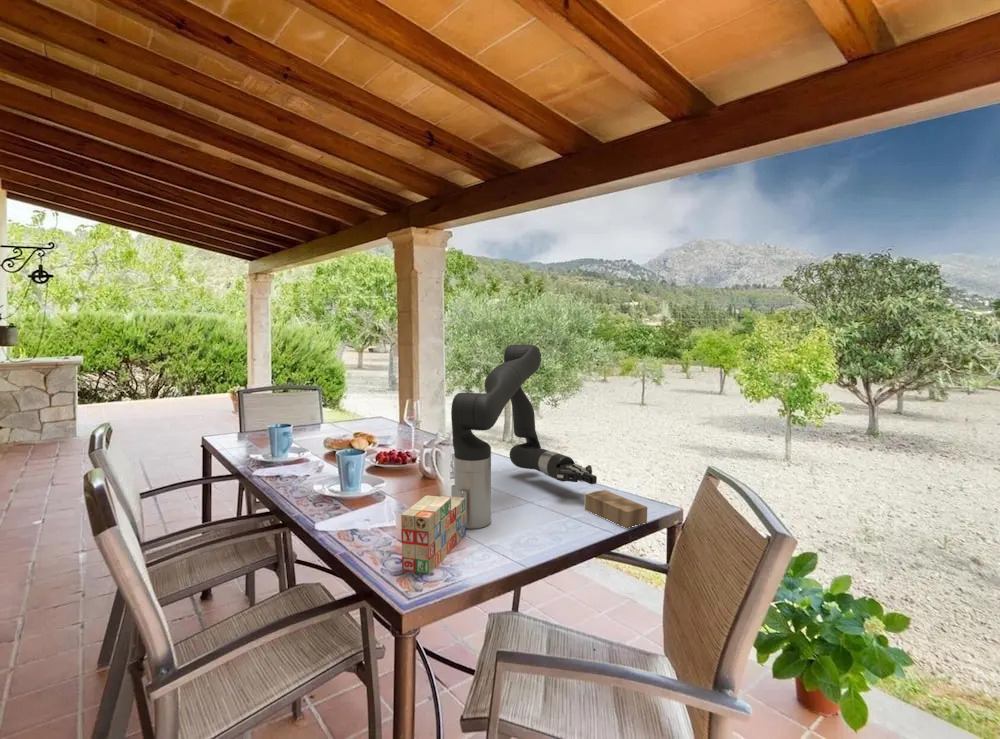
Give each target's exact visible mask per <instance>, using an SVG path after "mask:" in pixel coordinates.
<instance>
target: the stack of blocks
mask: <svg viewBox="0 0 1000 739" xmlns="http://www.w3.org/2000/svg"><path fill="white" fill-rule="evenodd" d="M400 518H401V524H400V525H401V530H400V533H401V534H400V536H401V537H400V538H401V539H400V540H401V570H402V571H406V572H412V573H418V574H424V575H425V574H426V575H430V574H431V573H432V572H433V571H434V569H436V568H437V567H438V566H439V564H441V563H442V562H443V560H444V559H445V558H447V555H448V554H449V553H450V552H451V551H452V550H453V549H454V548H455V546H456V545H458V544H459V543H460V542H461V541H462V540H463V538H464V537H465V536H466V534H467V528H466V510H465V498H462V497H451V496H448V495H441V496H436V495H425V496H424V497H422V498H421V499H420V500H418V501H417V502H416V503H415V504H413V505H412V506H411V507H409V508H407V509H406V510H405V511H404V512H402V513H401V515H400Z"/></svg>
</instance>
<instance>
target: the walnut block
mask: <svg viewBox="0 0 1000 739" xmlns="http://www.w3.org/2000/svg"><path fill="white" fill-rule="evenodd" d="M584 509H585V510H584V511H586V510H588V511H590V512H589V513H591V512H592V513H591V514H593V513H594V514H593V515H595V514H597V515H599V516H601V517H603V518H605V519H604V520H606V519H608V520H610V521H612V522H614V523H616V524H619V525H620V526H619V527H621V526H623V527H625V528H629V527H632V526H635V525H639V524H643V523H647V524H648V506H647V505H644V504H641V503H638V502H636V501H634V500H631V499H629V498H626V497H624V496H621V495H618V494H617V493H613V492H611V491H609V490H606V489H601V490H596V491H592V492H586V493H584ZM588 511H587V512H588ZM597 515H596V516H597ZM599 516H598V517H599ZM601 517H600V518H601ZM603 518H602V519H603ZM608 520H607V521H608ZM610 521H609V522H610ZM612 522H611V523H612ZM614 523H613V524H614ZM616 524H615V525H616ZM623 527H622V528H623ZM625 528H624V529H625Z"/></svg>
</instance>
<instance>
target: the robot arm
mask: <svg viewBox="0 0 1000 739" xmlns="http://www.w3.org/2000/svg"><path fill="white" fill-rule="evenodd" d="M541 362H542V353H541V350H540V349H539V347H538V346H536V345H535V344H528V343H527V344H509V345H507V346H506V347H505V350H504V354H503V362H502V363H500V364H498V365H497V366H495V367H494V368H493V369H492V370H491V371H490V372H489V373H488V374H487V376H486V377H485V380H484V390H485V393H482V392H480V393H479V392H458V393H457V394H455V395H454V397H453V400H452V403H451V408H450V409H451V413H450V414H451V433H452V446H453V451H454V453H453V455H454V456H453V457H454V459H453V460H454V468H453V469H454V473H453V474H454V484H452V485H451V490H450V491H451V497H462V498H465V510H466V529H471V530H472V529H481V528H482V529H483V528H485V527H488V526H489V525H490V524H491V523H492V449H491V448H492V446H491V445H490V444H489V443H488V442H486V441H485V440H482V439H480V438H479V437H477V436H476V435H475V434H474V433H473V431H488V430H490V429H492V428H493V427H494V426H495V425H496V423H497V421H498V419H499V418H500V416H501V414H502V412H503V410H504V409H505V407H506V406H507V404H508V402H510V400H511V410H512V419H513V420H512V421H513V434H514V436H515V437H517V438H519V439H523V438H524V439H525V440H526V441H525V442H524V443H519V444H515V445H514V446H512V447H511V449H510V451H509V459H510V461H511V462H512V464H513V465H514V466H515V467H518V468H520V469H525V470H526V469H528V470H536V471H537V472H540V473H542V474H544V475H546V476H548V477H549V478H552V479H554V480H557V481H559V482H571V483H578V482H581V483H584V482H585V483H587V484H590V485H596V484H597V482H598V481H597V475H594V474H593V468H592V465H590V464H589V465H587V466H585V467H583V466H582V465H580V464H577V463H575V461H574V460H573V458H572V457H570V456H568V455H565V454H562V453H559V452H557V451H556V452H555V451H551V450H548V449H544V448H542V447H541V443H540V441H539V438H538V434H537V431H536V416H535V410H534V407H533V404H532V403H531V401H530V399H529V398H528V396H527V395H526V394H525V393H526V392H524V390H523V388H522V387H521V386H523V384H525V382H526V381H527V380H528V379H529V378H530V377H532V376H533V375H534V374H535V373H536V372H537V371H538V369H539V368H540V366H541Z"/></svg>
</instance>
